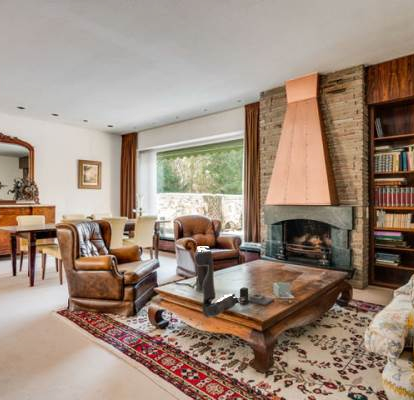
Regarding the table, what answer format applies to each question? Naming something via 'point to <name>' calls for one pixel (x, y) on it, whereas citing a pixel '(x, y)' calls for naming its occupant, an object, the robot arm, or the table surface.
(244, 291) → the pad block
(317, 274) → the table surface
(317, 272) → the table surface
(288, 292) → the l-shaped corner panel
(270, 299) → the base pad
